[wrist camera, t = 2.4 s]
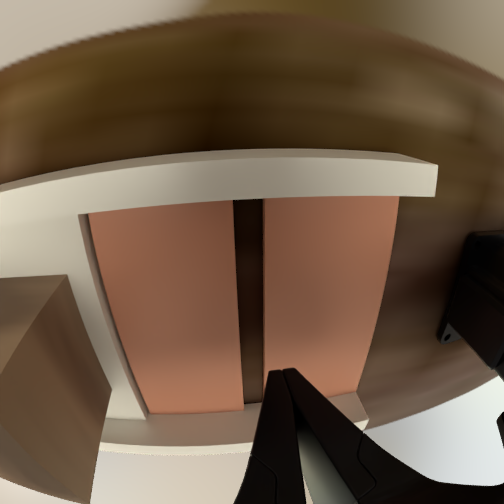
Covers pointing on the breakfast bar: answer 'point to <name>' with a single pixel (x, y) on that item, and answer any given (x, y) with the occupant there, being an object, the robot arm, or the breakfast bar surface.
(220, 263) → the trap channel
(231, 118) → the breakfast bar surface
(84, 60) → the breakfast bar surface
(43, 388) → the walnut block
